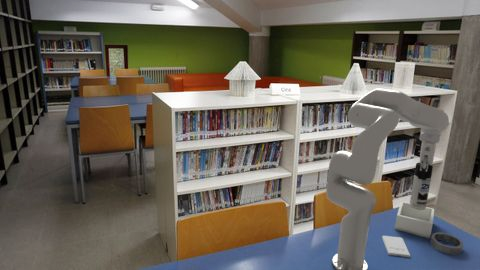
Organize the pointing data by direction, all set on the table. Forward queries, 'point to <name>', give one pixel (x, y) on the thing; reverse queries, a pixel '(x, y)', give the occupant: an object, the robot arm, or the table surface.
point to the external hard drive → (395, 246)
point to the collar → (446, 248)
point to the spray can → (420, 188)
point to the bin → (414, 220)
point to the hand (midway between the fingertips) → (422, 176)
